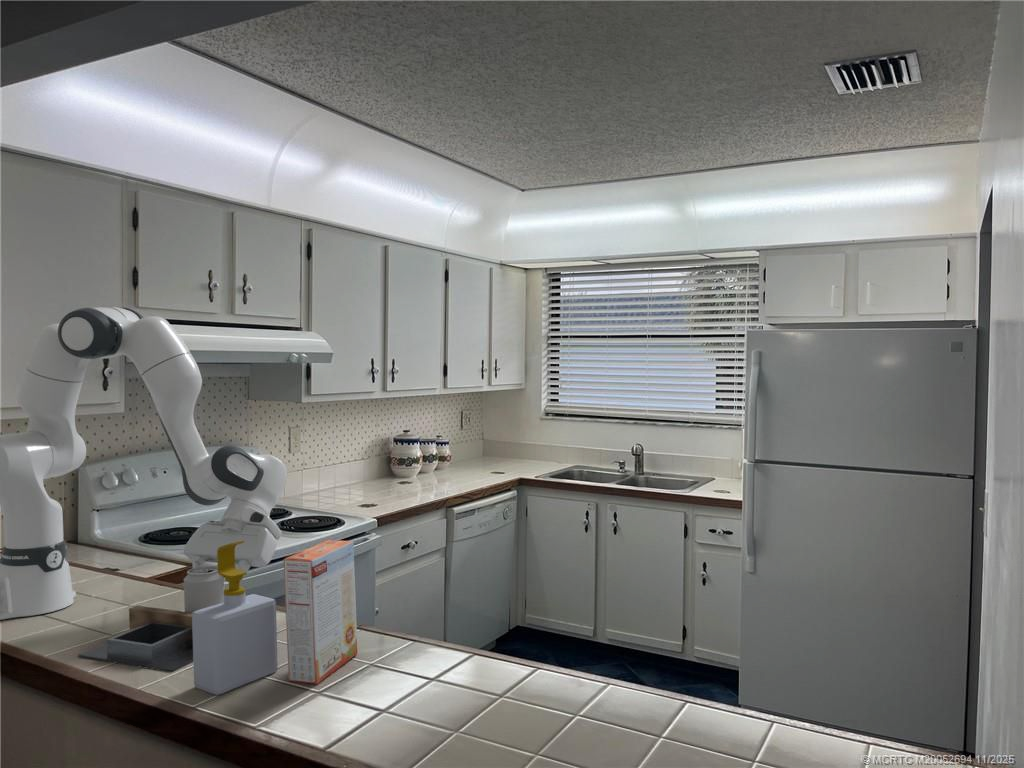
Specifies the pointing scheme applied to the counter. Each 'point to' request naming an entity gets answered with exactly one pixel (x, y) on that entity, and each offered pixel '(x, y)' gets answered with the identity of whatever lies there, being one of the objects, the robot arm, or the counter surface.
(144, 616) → the wooden plank
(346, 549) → the cracker box
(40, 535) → the robot arm
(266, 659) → the soap bottle
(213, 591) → the can
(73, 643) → the counter surface
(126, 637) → the socket
